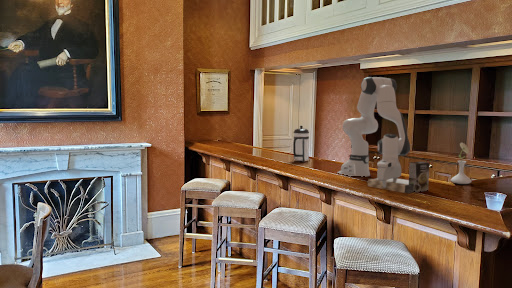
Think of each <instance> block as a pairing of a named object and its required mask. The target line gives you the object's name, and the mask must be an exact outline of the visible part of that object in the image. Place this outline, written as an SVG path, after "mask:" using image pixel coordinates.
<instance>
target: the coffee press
mask: <svg viewBox="0 0 512 288" xmlns="http://www.w3.org/2000/svg"><path fill="white" fill-rule="evenodd" d="M309 133H310V131H309V130H308V129H307V128H304V127H303V125H300V126H299V128H295V129H294V131H293V142H292V143H293V144H292V145H293V148H292V150H293V151H292V153H293V159H292V162H293V161H294V162H295V161H299V162H300V161H301V162H302V164H304V163H305V162H306V161H308V162H311V160H310V158H309V157H310V156H309V154H310V153H309V151H310V149H309V147H310V143H309V142H310V140H309V139H310V136H309Z"/></svg>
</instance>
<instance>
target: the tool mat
mask: <svg viewBox="0 0 512 288" xmlns="http://www.w3.org/2000/svg"><path fill="white" fill-rule="evenodd" d="M375 179H376V180H378V178H377V177H376V178H375ZM386 181H389V182H393V178H392V179H388V180H386ZM396 183H401V184H407V185H409V179H403V178H397V181H396ZM429 183H430V182H429ZM429 183H428V185H429Z"/></svg>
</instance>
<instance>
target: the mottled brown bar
mask: <svg viewBox="0 0 512 288" xmlns="http://www.w3.org/2000/svg"><path fill="white" fill-rule="evenodd" d="M386 184H387V187H386V188H384V187H383V183H382V181H381V180H376V178H368V179H367V187H371V188H375V189H381V190H387V191H393V192H397V193H403V194H412V193H413V192H414V191H413V185H407V184H401V183H395V182H389V181H386Z"/></svg>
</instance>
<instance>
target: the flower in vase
mask: <svg viewBox="0 0 512 288" xmlns="http://www.w3.org/2000/svg"><path fill="white" fill-rule="evenodd" d="M459 147H460V148H461V151H460V154H458V158H460V160H457V162H458V165H459V171H458V174H456V175H455V176H452V177H451V179H450V181H451V182H452V183H454V184H456V185H457V184H458V185H469V184H471V183H472V179H471V178H470V177H468V176H467V175H466V174H465V172H464V171H465V170H464V169H465V164H466V163H467V160H462V159H464V158H465V157H466V155H463V157H462V152H464V153H466V154H467V155H468V154H470V151H471V150H470V149H469V147H468V145H466V144H465V142H464V143H463V142H460V143H459Z"/></svg>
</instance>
